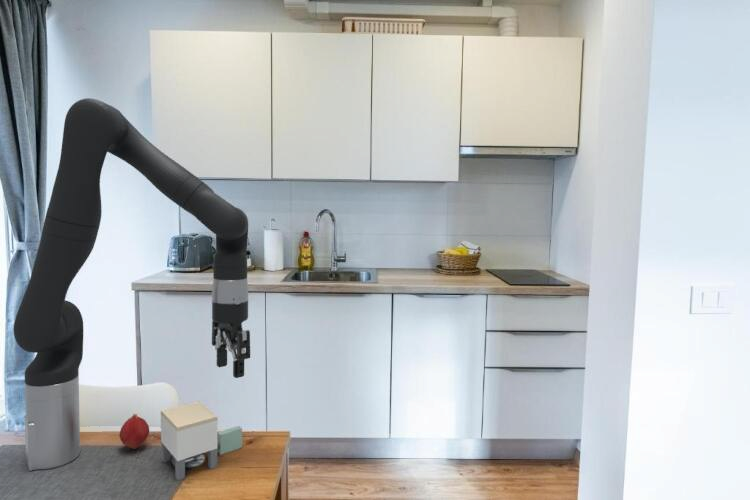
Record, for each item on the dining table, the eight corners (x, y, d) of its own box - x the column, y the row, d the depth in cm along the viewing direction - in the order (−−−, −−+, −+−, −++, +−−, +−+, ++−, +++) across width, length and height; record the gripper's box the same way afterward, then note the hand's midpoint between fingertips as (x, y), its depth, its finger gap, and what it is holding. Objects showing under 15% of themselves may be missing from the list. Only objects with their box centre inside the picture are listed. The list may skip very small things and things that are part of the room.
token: (189, 470, 95) (188, 467, 95) (178, 463, 98) (178, 459, 98) (208, 462, 98) (208, 458, 98) (198, 455, 101) (198, 452, 101)
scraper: (180, 473, 94) (179, 451, 94) (171, 462, 98) (171, 442, 97) (245, 450, 103) (245, 431, 103) (235, 441, 107) (235, 423, 107)
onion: (114, 450, 102) (113, 415, 101) (138, 439, 107) (137, 406, 106) (131, 457, 99) (130, 421, 98) (154, 446, 104) (154, 411, 103)
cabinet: (177, 480, 91) (177, 427, 90) (161, 459, 99) (160, 410, 98) (217, 466, 96) (217, 416, 96) (198, 447, 104) (198, 401, 103)
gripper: (200, 295, 104) (200, 366, 105) (227, 306, 93) (227, 384, 94) (232, 292, 109) (232, 360, 110) (261, 302, 98) (261, 377, 99)
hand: (230, 371), depth 102 cm, fingers open, 8 cm apart
